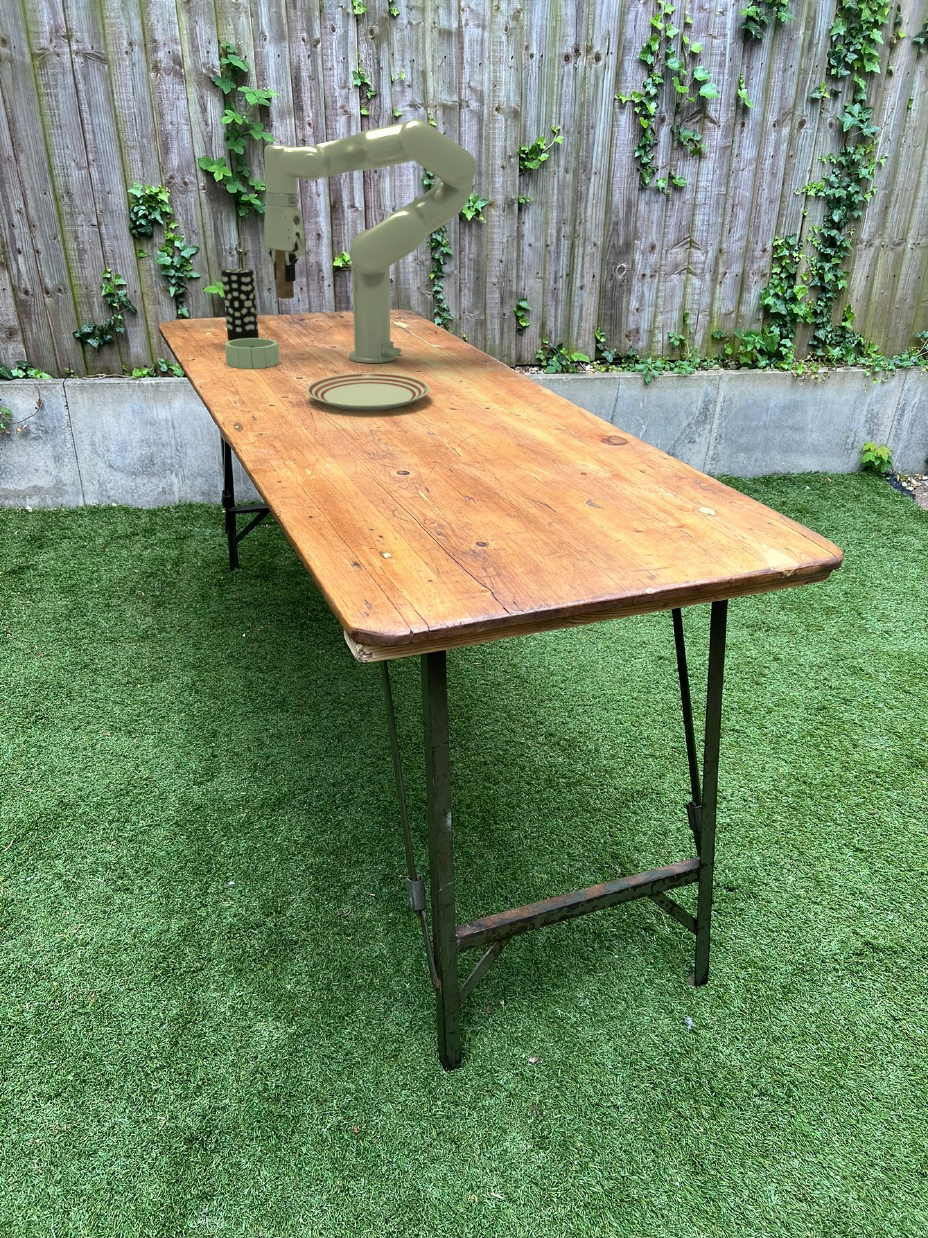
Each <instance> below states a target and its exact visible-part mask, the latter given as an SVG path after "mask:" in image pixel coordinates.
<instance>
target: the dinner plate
mask: <svg viewBox="0 0 928 1238" xmlns="http://www.w3.org/2000/svg"><path fill="white" fill-rule="evenodd" d="M430 391H431V387H430V386H429V384H428V383H427V382H425V381H424V380H422V379H420V378H417V377H414V376H409V375H405V374H400V373H399V374H398V373H397V374H396V373H386V372H354V373H353V372H352V373H344V374H343V373H342V374H337V375H336V374H335V375H331V376H327V377H323V378H319V379H317V380H315V381H313V382H311V383H310V384H308V385H307V387H306V389H305V392H306V394H307V395H308V396H309V397H310V398H312V399H314V400H316V401H318V402H322V403H323V404H327V405H330V406H332V407H335V408H338V409H343V410H348V411H360V412H374V411H375V412H377V411H378V412H379V411H386V410H387V411H389V410H393V409H398V408H400V407H404V406H406V405H409V404H412V403H414V402H417V401H419V400H420V399H423V398H425V396H427V395H428V393H429V392H430Z"/></svg>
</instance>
